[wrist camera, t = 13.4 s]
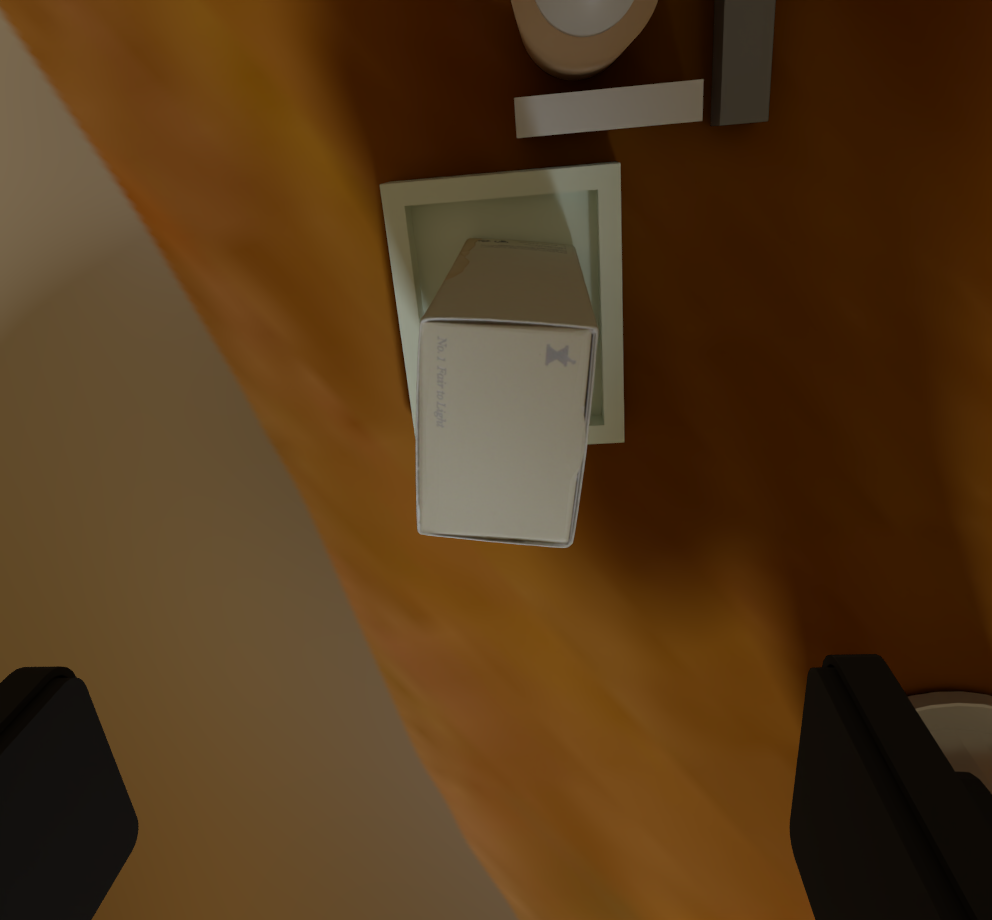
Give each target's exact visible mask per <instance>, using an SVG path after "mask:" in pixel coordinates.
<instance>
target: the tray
mask: <svg viewBox="0 0 992 920" xmlns="http://www.w3.org/2000/svg"><path fill="white" fill-rule="evenodd" d="M380 192H381V199H382V206H383V213H384V220H385V227H386V234H387V241H388V248H389V255H390V263H391V270H392V277H393V284H394V291H395V298H396V305H397V312H398V319H399V326H400V333H401V340H402V347H403V354H404V361H405V368H406V375H407V382H408V390H409V397H410V404H411V411H412V418H413V425H414V432H415V439H416V382H417V357H418V339H419V327H420V321H421V319H422V317H423V316H424V314H425V312H426V311H427V309H428V308H429V306H430V304H431V302H432V301H433V299H434V297H435V295H436V294H437V292H438V290H439V288H440V287H441V285H442V283H443V282H444V280H445V278H446V276H447V274H448V272H449V271H450V269H451V267H452V266H453V264H454V262H455V260H456V258H457V256H458V255H459V253H460V251H461V249H462V247H463V246H464V244H465V242H466V240H467V239H469V238H481V239H505V240H519V241H533V242H544V243H555V244H565V245H573V246H574V247H575V249H576V252H577V256H578V259H579V263H580V266H581V270H582V273H583V277H584V281H585V284H586V287H587V291H588V294H589V298H590V302H591V305H592V309H593V312H594V315H595V318H596V323H597V326H598V329H599V336H598V341H597V351H596V365H595V374H594V386H593V396H592V406H591V415H590V424H589V433H588V443H587V444H604V443H623V442H624V373H623V302H622V231H621V163H619V162H616V161H615V162H603V163H592V164H581V165H570V166H559V167H547V168H536V169H525V170H514V171H503V172H491V173H480V174H469V175H458V176H447V177H435V178H424V179H413V180H402V181H391V182H386V183H383V184H380Z"/></svg>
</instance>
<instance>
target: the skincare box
mask: <svg viewBox="0 0 992 920" xmlns="http://www.w3.org/2000/svg"><path fill="white" fill-rule="evenodd" d="M598 336H599V329H598V326H597V323H596V318H595V315H594V312H593V309H592V305H591V302H590V298H589V294H588V291H587V287H586V284H585V281H584V277H583V273H582V270H581V266H580V263H579V259H578V256H577V252H576V249H575V247H574V246H573V245H565V244H555V243H544V242H533V241H519V240H505V239H481V238H469V239H467V240H466V242H465V244H464V246H463V247H462V249H461V251H460V253H459V255H458V256H457V258H456V260H455V262H454V264H453V266H452V267H451V269H450V271H449V272H448V274H447V276H446V278H445V280H444V282H443V283H442V285H441V287H440V288H439V290H438V292H437V294H436V295H435V297H434V299H433V301H432V302H431V304H430V306H429V308H428V309H427V311H426V312H425V314H424V316H423V317H422V319H421V321H420V327H419V339H418V357H417V382H416V513H417V530H418V532H419V533H420V534H423V535H429V536H438V537H449V538H458V539H468V540H477V541H487V542H499V543H508V544H519V545H534V546H543V547H556V548H567V547H569V546H570V545H571V544H573V540H574V535H575V529H576V522H577V516H578V509H579V502H580V495H581V488H582V481H583V474H584V467H585V460H586V453H587V443H588V433H589V424H590V415H591V406H592V396H593V386H594V374H595V365H596V351H597V341H598Z"/></svg>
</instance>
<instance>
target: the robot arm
mask: <svg viewBox="0 0 992 920" xmlns="http://www.w3.org/2000/svg"><path fill="white" fill-rule="evenodd" d="M137 835H138V820H137V816H136V814H135V811H134V808H133V806H132V803H131V801H130V798H129V795H128V793H127V790H126V788H125V785H124V783H123V780H122V777H121V775H120V773H119V770H118V767H117V764H116V762H115V759H114V757H113V754H112V752H111V749H110V746H109V744H108V741H107V739H106V736H105V733H104V731H103V728H102V726H101V723H100V721H99V718H98V716H97V713H96V711H95V708H94V705H93V703H92V700H91V697H90V695H89V692H88V690H87V687H86V685H85V683H84V682H83V681H82V680H81V679H79V678H76V676H75V674H74V673H73V671H71V670H70V669H69V668H67V667H23V668H19V669H16V670H15V671H14V672H12V673H11V674H9V675H8V676H7V677H6V678H5V679H4V680H3V681H2V682H1V683H0V920H91V919H92V918H93V916H94V914H95V913H96V911H97V909H98V908H99V906H100V904H101V903H102V901H103V899H104V897H105V896H106V894H107V892H108V891H109V889H110V887H111V886H112V884H113V882H114V880H115V879H116V877H117V875H118V874H119V872H120V870H121V869H122V867H123V865H124V864H125V862H126V860H127V859H128V857H129V855H130V853H131V852H132V850H133V848H134V846H135V843H136V840H137ZM790 838H791V845H792V850H793V854H794V857H795V860H796V863H797V866H798V869H799V872H800V875H801V878H802V881H803V884H804V887H805V890H806V893H807V896H808V899H809V902H810V905H811V908H812V911H813V914H814V917H815V920H992V696H990V695H987V694H979V693H971V692H963V691H953V692H932V693H925V694H919V695H913V696H908V697H907V695H906V694H905V692H904V690H903V689H902V687H901V686H900V684H899V683H898V681H897V679H896V678H895V676H894V675H893V673H892V672H891V670H890V668H889V667H888V665H887V664H886V662H885V661H884V660H883V659H882V657H881V656H879V655H877V654H858V655H828V656H826V657H825V659H824V661H823V665H822V667H820V668H810V670H809V672H808V677H807V685H806V693H805V701H804V710H803V718H802V726H801V734H800V743H799V751H798V759H797V767H796V776H795V784H794V792H793V801H792V809H791V817H790Z"/></svg>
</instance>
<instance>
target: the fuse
mask: <svg viewBox="0 0 992 920" xmlns="http://www.w3.org/2000/svg"><path fill="white" fill-rule="evenodd" d="M657 2H658V0H511V3H512V7H513V11H514V14H515V18H516V22H517V25H518V29H519V32H520V36H521V39H522V42H523V45H524V47H525V49H526V51H527V53H528V54H529V56H530V57H531V59H532V60H533V61H534V62H535V64H536V65H537V66H538V67H540V68H541V69H542V70H543V71H545V72H546V73H548V74H549V75H552V76H554V77H556V78H560V79H563V80H582V79H587V78H590V77H593V76H595V75H597V74H599V73H601V72H602V71H604V70H605V69H607V68H608V67H609V66H610V65H611V64H612V63H613V62H614V61H615V60H616V59H617V58H618V57H619V56H620V54H621V53H622V52H623V51H624V50H625V49H626V48H627V47H628V46H629V45H630V43H631V42H632V41H633V40H634V39H635V38H636V37H637V36H638V35H639V34H640V32H641V31H642V30H643V28H644V27H645V26H646V24H647V23H648V21H649V19H650V17H651V16H652V14H653V12H654V9H655V7H656V4H657Z"/></svg>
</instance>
